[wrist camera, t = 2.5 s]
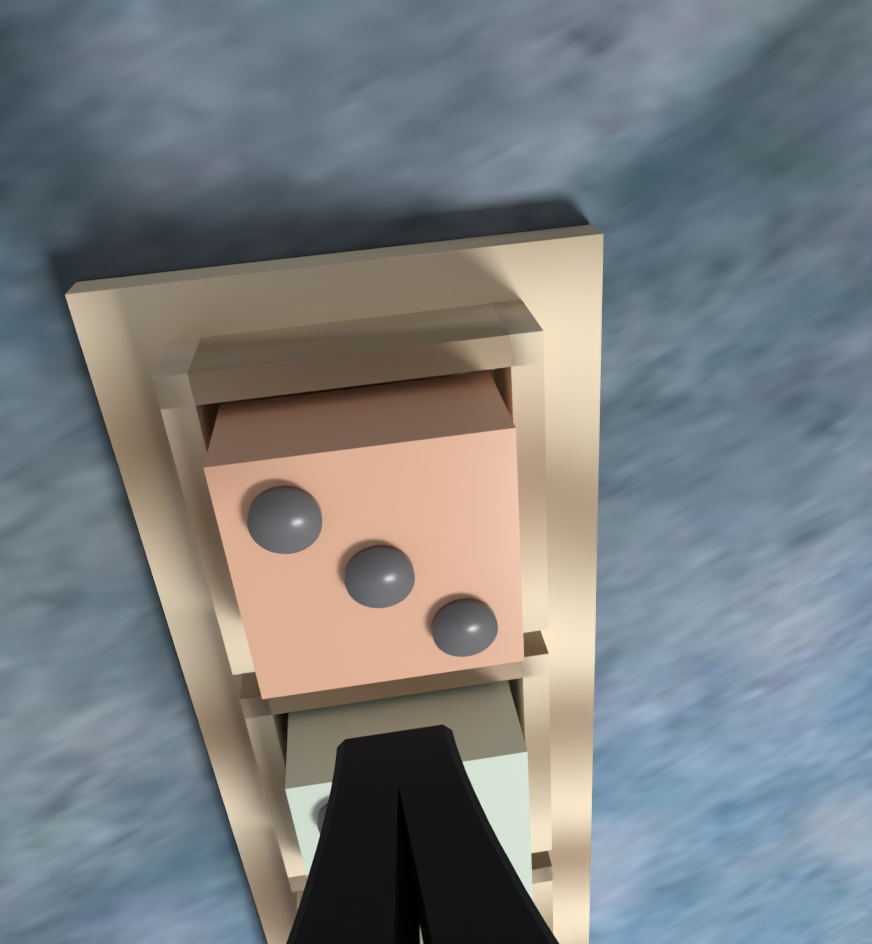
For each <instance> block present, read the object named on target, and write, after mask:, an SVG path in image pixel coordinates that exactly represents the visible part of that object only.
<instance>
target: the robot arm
mask: <svg viewBox="0 0 872 944" xmlns="http://www.w3.org/2000/svg"><path fill="white" fill-rule="evenodd" d="M420 929H421V934H422V939H423V944H559V942H558V941H557V939H556V938H555V936H554V934H553V933H552V931H551V930H550V928H549V927H548V925H547V923H546V922H545V920H544V919H543V917H542V915H541V914H540V912H539V910H538V909H537V907H536V905H535V904H534V902H533V900H532V899H531V897H530V895H529V894H528V892H527V890H526V889H525V887H524V885H523V883H522V881H521V880H520V878H519V876H518V874H517V872H516V871H515V869H514V867H513V865H512V863H511V862H510V860H509V858H508V856H507V854H506V853H505V851H504V849H503V847H502V846H501V844H500V842H499V840H498V838H497V836H496V834H495V832H494V830H493V828H492V826H491V824H490V823H489V821H488V819H487V816H486V814H485V812H484V810H483V808H482V806H481V804H480V802H479V800H478V797H477V795H476V793H475V791H474V789H473V786H472V784H471V782H470V779H469V777H468V775H467V772H466V770H465V767H464V765H463V762H462V759H461V757H460V754H459V751H458V748H457V745H456V742H455V738H454V734H453V731H452V730H451V729H450V728H448V727H447V726H445V725H443V724H442V725H435V726H429V727H422V728H415V729H409V730H402V731H395V732H389V733H382V734H376V735H369V736H362V737H356V738H349V739H345V740H344V741H343V742H342V743H341V744H340V745H339V746H338V747H337V751H336V760H335V768H334V774H333V779H332V785H331V790H330V795H329V800H328V804H327V809H326V813H325V817H324V821H323V825H322V829H321V833H320V837H319V840H318V844H317V848H316V852H315V855H314V858H313V861H312V865H311V868H310V871H309V875H308V878H307V881H306V885H305V888H304V891H303V895H302V898H301V901H300V904H299V908H298V911H297V914H296V917H295V920H294V923H293V926H292V929H291V931H290V934H289V937H288V940H287V942H286V944H420Z"/></svg>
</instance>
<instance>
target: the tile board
mask: <svg viewBox="0 0 872 944" xmlns="http://www.w3.org/2000/svg"><path fill="white" fill-rule="evenodd" d="M602 274H603V233H602V232H600V231H599V230H598V229H597V228H595V227H594V226H593V225H591V224H590V225H581V226H572V227H563V228H555V229H546V230H537V231H528V232H519V233H510V234H501V235H492V236H483V237H474V238H465V239H456V240H447V241H438V242H430V243H421V244H412V245H403V246H394V247H385V248H376V249H367V250H358V251H349V252H340V253H331V254H322V255H313V256H304V257H296V258H287V259H278V260H269V261H260V262H251V263H242V264H233V265H224V266H215V267H206V268H197V269H188V270H179V271H171V272H162V273H153V274H144V275H135V276H126V277H117V278H108V279H99V280H90V281H81V282H76V283H75V284H74V285H73V286H72V287H71V288H70V290H69V291H68V292H67V293H66V294H65V296H66V300H67V303H68V306H69V309H70V312H71V316H72V319H73V322H74V325H75V328H76V332H77V335H78V338H79V341H80V344H81V348H82V351H83V354H84V357H85V360H86V364H87V367H88V370H89V373H90V376H91V380H92V383H93V386H94V389H95V392H96V396H97V399H98V402H99V405H100V408H101V412H102V415H103V418H104V421H105V424H106V428H107V431H108V434H109V437H110V440H111V444H112V447H113V450H114V453H115V456H116V460H117V463H118V466H119V469H120V472H121V475H122V479H123V482H124V485H125V488H126V491H127V495H128V498H129V501H130V504H131V507H132V511H133V514H134V517H135V520H136V523H137V527H138V530H139V533H140V536H141V539H142V543H143V546H144V549H145V552H146V555H147V559H148V562H149V565H150V568H151V571H152V575H153V578H154V581H155V584H156V587H157V591H158V594H159V597H160V600H161V603H162V607H163V610H164V613H165V616H166V619H167V623H168V626H169V629H170V632H171V635H172V639H173V642H174V645H175V648H176V651H177V655H178V658H179V661H180V664H181V667H182V671H183V674H184V677H185V680H186V683H187V687H188V690H189V693H190V696H191V699H192V703H193V706H194V709H195V712H196V715H197V719H198V722H199V725H200V728H201V731H202V735H203V738H204V741H205V744H206V747H207V751H208V754H209V757H210V760H211V763H212V767H213V770H214V773H215V776H216V779H217V783H218V786H219V789H220V792H221V795H222V799H223V802H224V805H225V808H226V811H227V815H228V818H229V821H230V824H231V827H232V830H233V834H234V837H235V840H236V843H237V846H238V850H239V853H240V856H241V859H242V862H243V866H244V869H245V872H246V875H247V878H248V882H249V885H250V888H251V891H252V894H253V898H254V901H255V904H256V907H257V910H258V914H259V917H260V920H261V923H262V926H263V930H264V933H265V936H266V939H267V942H268V944H286V942H287V940H288V937H289V934H290V931H291V929H292V926H293V923H294V920H295V917H296V914H297V911H298V908H299V904H300V901H301V898H302V895H303V891H304V888H305V885H306V881H307V878H308V877H307V874H306V870H305V866H304V862H303V858H302V854H301V850H300V846H299V842H298V838H297V834H296V830H295V826H294V822H293V818H292V814H291V811H290V807H289V803H288V799H287V795H286V791H285V780H286V759H287V738H288V717H289V712H295V711H302V710H309V709H315V708H322V707H329V706H336V705H342V704H349V703H356V702H363V701H369V700H376V699H383V698H389V697H396V696H403V695H410V694H416V693H423V692H430V691H437V690H443V689H450V688H457V687H464V686H470V685H477V684H484V683H491V682H497V681H504V680H508V684H509V687H510V691H511V694H512V698H513V701H514V705H515V709H516V712H517V716H518V719H519V723H520V727H521V730H522V734H523V737H524V741H525V745H526V748H527V752H528V779H529V807H530V835H531V863H532V891H533V899H532V900H533V902H534V904H535V905H536V907H537V909H538V910H539V912H540V914H541V915H542V917H543V919H544V920H545V922H546V923H547V925H548V927H549V928H550V930H551V931H552V933H553V934H554V936H555V938H556V939H557V941H558V942H559V944H589V907H590V858H591V810H592V761H593V712H594V664H595V615H596V566H597V518H598V469H599V420H600V372H601V323H602ZM482 372H490V374H491V376H492V378H493V380H494V382H495V384H496V386H497V389H498V391H499V393H500V395H501V397H502V399H503V401H504V404H505V406H506V408H507V410H508V412H509V414H510V416H511V418H512V421H513V423H514V425H515V427H516V445H517V473H518V501H519V528H520V556H521V584H522V612H523V640H524V661H519V662H513V663H506V664H499V665H492V666H485V667H479V668H472V669H465V670H458V671H451V672H445V673H438V674H431V675H424V676H417V677H411V678H404V679H397V680H390V681H383V682H376V683H370V684H363V685H356V686H349V687H342V688H336V689H329V690H322V691H315V692H308V693H302V694H295V695H288V696H281V697H274V698H268V699H262V696H261V692H260V689H259V685H258V681H257V677H256V673H255V669H254V665H253V661H252V657H251V653H250V649H249V645H248V641H247V637H246V633H245V629H244V626H243V622H242V618H241V614H240V610H239V606H238V602H237V598H236V594H235V590H234V586H233V582H232V578H231V574H230V570H229V567H228V563H227V559H226V555H225V551H224V547H223V543H222V539H221V535H220V531H219V527H218V523H217V519H216V515H215V511H214V507H213V504H212V500H211V496H210V492H209V488H208V484H207V480H206V476H205V472H204V468H203V467H204V464H205V460H206V456H207V452H208V448H209V444H210V441H211V437H212V433H213V429H214V425H215V421H216V418H217V414H218V410H219V406H220V405H222V404H230V403H238V402H246V401H255V400H263V399H271V398H279V397H287V396H295V395H303V394H311V393H320V392H328V391H336V390H344V389H352V388H360V387H368V386H376V385H385V384H393V383H401V382H409V381H417V380H425V379H433V378H442V377H450V376H458V375H466V374H474V373H482Z"/></svg>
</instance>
